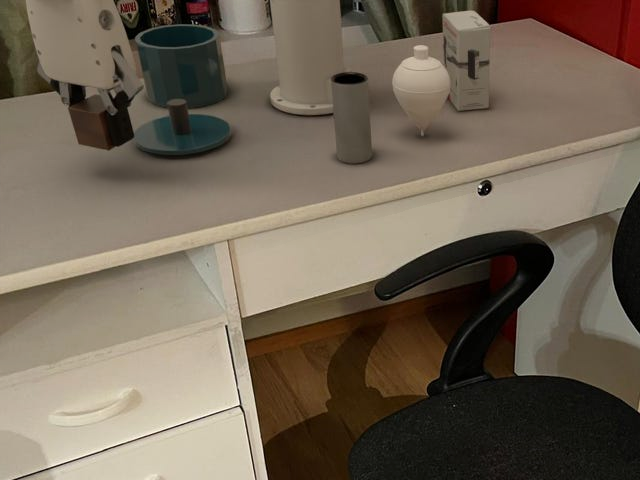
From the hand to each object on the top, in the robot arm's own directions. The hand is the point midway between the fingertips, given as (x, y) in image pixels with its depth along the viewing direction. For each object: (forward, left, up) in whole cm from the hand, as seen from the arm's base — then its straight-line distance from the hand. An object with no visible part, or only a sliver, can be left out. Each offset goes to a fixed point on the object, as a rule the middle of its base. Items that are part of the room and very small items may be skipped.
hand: (105, 137), depth 103 cm
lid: (-1, -12, -4) cm, 13 cm away
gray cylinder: (-24, -17, -5) cm, 30 cm away
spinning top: (-29, -27, -5) cm, 40 cm away
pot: (+9, -26, -5) cm, 28 cm away
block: (0, 0, 0) cm, 0 cm away
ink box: (-29, -42, -5) cm, 51 cm away
